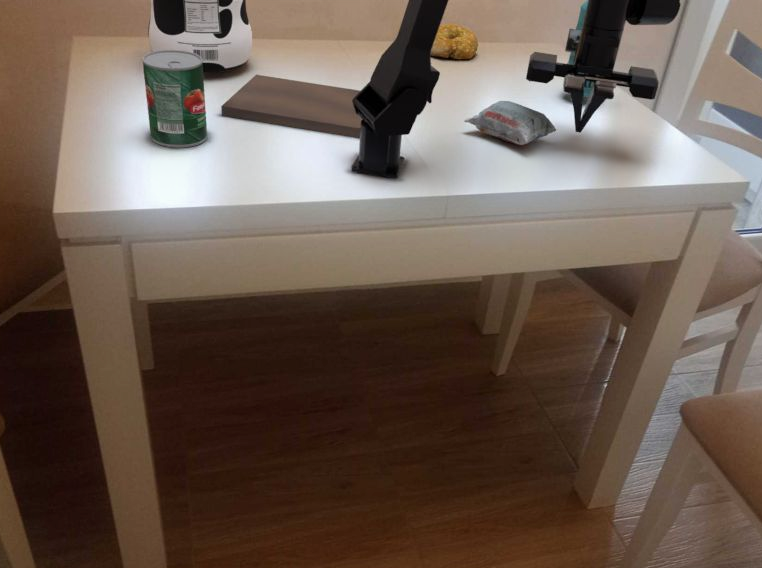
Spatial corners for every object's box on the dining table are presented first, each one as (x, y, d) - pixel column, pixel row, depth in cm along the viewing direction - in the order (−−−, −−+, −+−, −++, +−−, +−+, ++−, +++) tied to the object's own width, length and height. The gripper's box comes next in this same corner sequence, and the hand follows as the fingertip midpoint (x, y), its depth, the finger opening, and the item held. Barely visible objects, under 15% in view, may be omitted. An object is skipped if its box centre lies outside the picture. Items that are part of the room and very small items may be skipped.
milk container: (205, 43, 145) (199, -64, 134) (273, 67, 138) (272, -44, 127) (130, 61, 134) (116, -54, 123) (199, 88, 126) (191, -31, 115)
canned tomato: (146, 128, 112) (137, 50, 105) (201, 124, 115) (196, 48, 108) (155, 150, 106) (147, 69, 100) (213, 145, 109) (208, 67, 102)
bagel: (413, 50, 154) (416, 25, 151) (451, 43, 160) (454, 19, 157) (449, 64, 148) (452, 39, 145) (487, 56, 155) (491, 32, 152)
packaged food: (524, 157, 116) (530, 125, 113) (461, 132, 121) (466, 101, 118) (554, 143, 121) (561, 113, 118) (493, 120, 127) (498, 90, 124)
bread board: (361, 138, 116) (362, 128, 115) (221, 115, 118) (221, 106, 117) (383, 103, 129) (383, 94, 128) (256, 83, 131) (256, 74, 130)
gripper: (665, 20, 115) (636, 122, 124) (540, 2, 116) (520, 104, 126) (672, 40, 106) (640, 148, 115) (537, 20, 107) (516, 129, 117)
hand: (578, 131), depth 118 cm, fingers closed
